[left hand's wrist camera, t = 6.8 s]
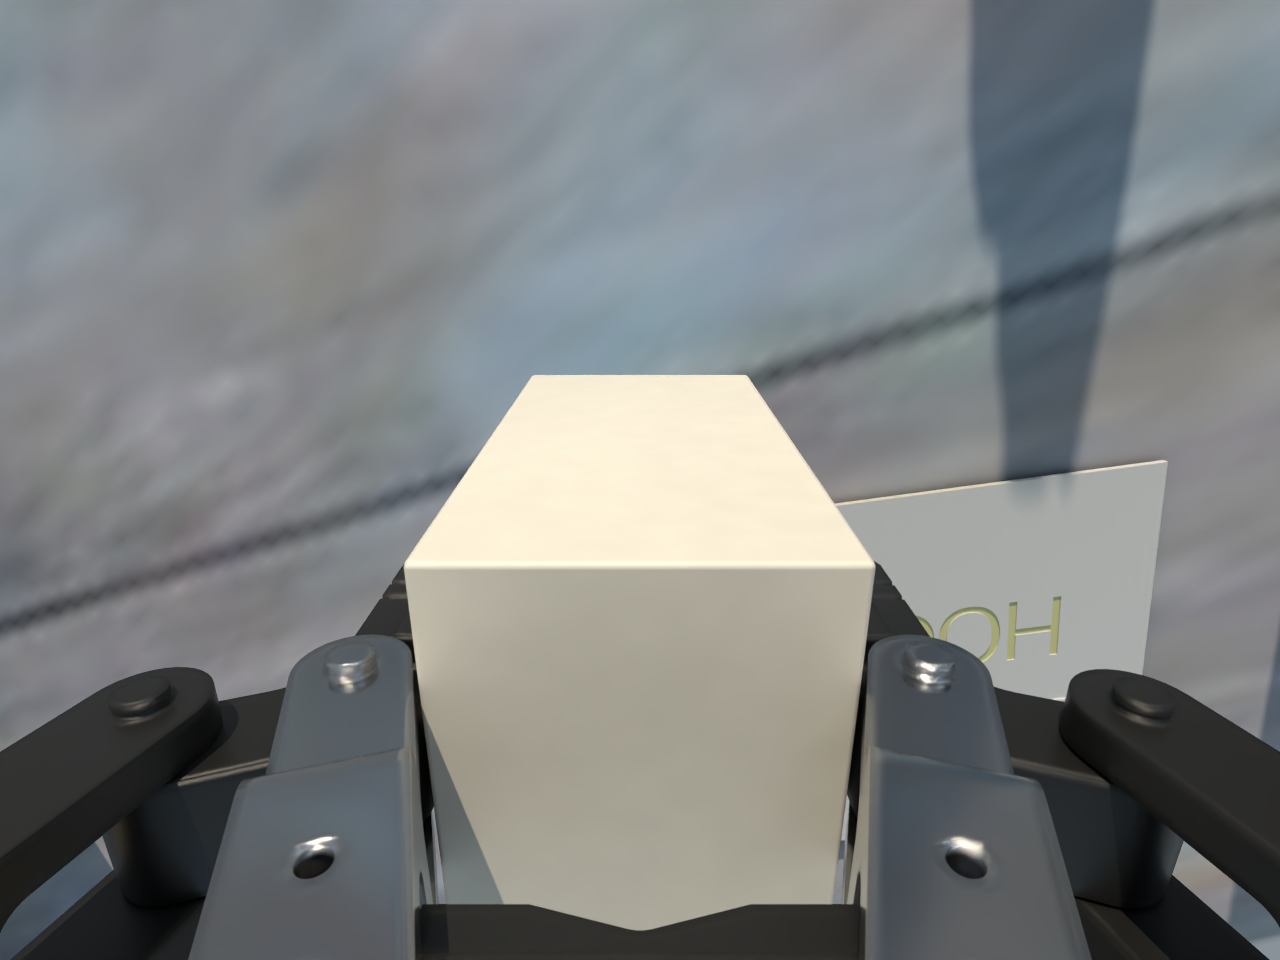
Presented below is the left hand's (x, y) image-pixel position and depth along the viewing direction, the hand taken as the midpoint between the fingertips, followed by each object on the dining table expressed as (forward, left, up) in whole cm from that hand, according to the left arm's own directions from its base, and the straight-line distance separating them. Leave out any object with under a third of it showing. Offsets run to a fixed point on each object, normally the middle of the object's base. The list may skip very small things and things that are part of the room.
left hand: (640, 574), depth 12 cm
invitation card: (-12, +7, -12) cm, 19 cm away
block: (0, 0, -4) cm, 4 cm away
